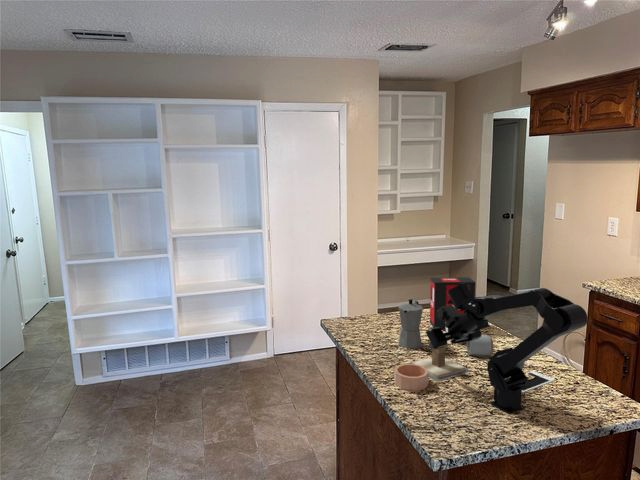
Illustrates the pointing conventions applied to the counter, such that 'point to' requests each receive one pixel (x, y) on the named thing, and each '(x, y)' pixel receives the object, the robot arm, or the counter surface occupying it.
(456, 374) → the rubber mat
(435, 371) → the square lid with knob
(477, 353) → the ceramic mug
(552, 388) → the counter surface
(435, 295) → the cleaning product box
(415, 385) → the terracotta bowl
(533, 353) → the robot arm
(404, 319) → the coffeepot
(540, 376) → the cell phone
